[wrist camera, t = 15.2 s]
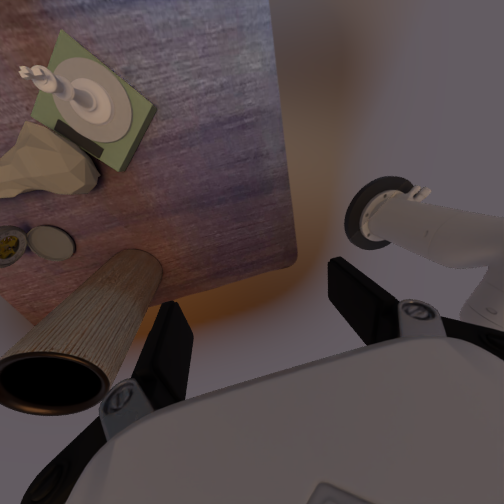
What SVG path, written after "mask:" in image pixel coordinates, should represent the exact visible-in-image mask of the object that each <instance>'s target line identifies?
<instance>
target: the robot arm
mask: <svg viewBox="0 0 504 504" xmlns="http://www.w3.org/2000/svg"><path fill="white" fill-rule="evenodd" d="M420 189H421V187H420V186H418V185H415V186H414V187H413V188H412V189H411V190H410V192H409V193H406V194H404V193H403V192H401V191H397V190H387V191H383V192H381V193H379V194H377V195H376V196H375V197H373V198H372V199H371V200H370V201H369V202H368V203H367V205H366V206H365V208H364V210H363V211H362V214H361V217H360V222H359V227H360V231H361V233H362V235H363V236H364V237H365V238H367V239H369V240H371V241H382V240H387V241H389V242H391V243H393V244H396V245H398V246H400V247H402V248H404V249H407V250H409V251H411V252H413V253H416V254H418V255H420V256H422V257H424V258H427V259H429V260H431V261H433V262H436V263H438V264H440V265H443V266H446V267H449V268H457V269H466V268H476V267H483V266H488V270H487V272H486V274H485V275H484V277H483V279H482V281H481V282H480V283H479V285H478V286H477V287H476V289H475V290H474V292H473V293H472V294H471V296H470V297H469V299H468V300H467V301H466V303H465V304H464V306H463V307H462V309H461V311H460V320H461V321H458V320H454V319H450V318H446V317H441V316H440V314H439V312H438V311H437V310H436V309H435V308H434V307H433V306H431V305H429V304H427V303H425V302H422V301H419V300H413V299H408V300H403V301H401V302H399V301H398V300H397V299H395V297H394V296H392V295H391V294H390V293H388V292H387V291H386V290H384V289H383V288H382V287H380V286H379V285H378V284H376V283H375V282H374V281H373V280H371V279H370V278H368V277H367V276H366V275H365V274H363V273H362V272H361V271H359V270H358V269H357V268H355V267H354V266H353V265H351V264H350V263H349V262H347V261H346V260H345V259H343V258H342V257H336V258H332V259H330V262H328V297H329V300H330V301H331V302H332V304H333V305H334V306H335V307H336V309H337V310H338V311H339V312H340V314H341V315H342V316H343V317H344V318H345V320H346V321H347V322H348V323H349V325H350V326H351V327H352V328H353V329H354V331H355V332H356V333H357V334H358V336H360V338H361V339H362V340H363V342H364V343H365V344H366V345H367V346H364V347H361V348H357V349H354V350H350V351H347V352H343V353H340V354H336V355H333V356H329V357H326V358H323V359H319V360H316V361H312V362H309V363H305V364H302V365H299V366H295V367H292V368H289V369H285V370H282V371H278V372H275V373H272V374H269V375H265V376H262V377H259V378H255V379H252V380H248V381H245V382H242V383H239V384H235V385H232V386H228V387H225V388H222V389H219V390H215V391H212V392H209V393H205V394H202V395H200V396H196V397H193V398H190V399H187V400H185V396H186V389H187V382H188V374H189V368H190V361H191V354H192V346H193V339H194V338H193V333H192V330H191V328H190V326H189V325H188V323H187V320H186V318H185V316H184V314H183V312H182V310H181V308H180V306H179V304H178V303H177V302H174V301H169V302H165V303H162V305H161V307H160V310H159V312H158V315H157V317H156V320H155V322H154V325H153V327H152V329H151V331H150V332H149V334H148V337H147V339H146V342H145V344H144V347H143V349H142V351H141V354H140V356H139V359H138V361H137V364H136V366H135V369H134V371H133V374H132V376H131V378H129V379H125V380H123V381H121V382H119V383H118V384H116V385H115V386H114V387H113V388H112V389H111V390H110V391H109V392H108V393H107V394H106V395H105V397H104V398H103V400H102V402H101V404H100V407H99V416H98V417H97V418H96V419H95V420H94V421H93V422H92V423H91V424H90V425H89V426H88V427H87V428H86V429H85V430H84V431H83V432H82V433H80V434H79V435H78V436H77V437H76V438H75V439H74V440H73V441H72V442H71V443H70V444H69V445H68V446H67V447H66V448H65V449H64V450H62V451H61V452H60V453H59V454H58V455H57V456H56V457H55V458H54V459H53V460H52V461H51V462H50V463H49V464H48V465H47V466H46V467H45V468H44V469H43V470H42V471H41V472H40V473H39V474H38V475H37V476H36V478H35V479H34V480H33V482H32V483H31V484H30V486H29V488H28V489H27V491H26V493H25V494H24V496H23V499H22V501H21V504H504V218H503V217H496V216H490V215H485V214H479V213H474V212H468V211H463V210H458V209H453V208H448V207H442V206H437V205H432V204H427V203H421V201H422V200H423V199H424V198H426V197H427V196H428V195H429V194H430V193H431V190H430V189H429V188H427V187H423V188H422V189H421V190H420ZM419 190H420V191H419ZM418 191H419V192H418ZM417 192H418V193H417ZM416 193H417V194H416ZM415 194H416V196H415V197H414V198H413V196H414V195H415Z"/></svg>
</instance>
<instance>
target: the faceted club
mask: <svg viewBox="0 0 504 504" xmlns="http://www.w3.org/2000/svg"><path fill="white" fill-rule="evenodd" d="M99 176H101V175H100V174H99V172H98V171H97V169H96V167H95V165H94V163H93V161H92V159H91V158H90V157H89V156H88V155H87V154H86V153H85V152H84V151H83V150H82V149H81V148H80V147H79V146H78V145H76V144H75V143H73V142H71V141H69V140H67V139H65V138H64V137H62V136H60V135H58V134H56V133H55V132H53V131H51V130H49V129H47V128H45V127H43V126H40V125H37V124H34V123H31V122H28V121H25V123H24V126H23V128H22V130H21V132H20V134H19V137H18V139H17V142H16V145H15V146H14V147H12V148H11V149H10V150H9V151H8V152H7V153H6V154H5V155H3V156H2V157H1V158H0V198H8V197H15V196H16V195H18V194H21V193H25V192H29V191H33V190H46V191H49V192H53V193H56V194H69V195H70V194H88V193H89V192H90V191H91V190H92V189H93V188H94V187H95V186H96V185H97V180H98V177H99Z"/></svg>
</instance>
